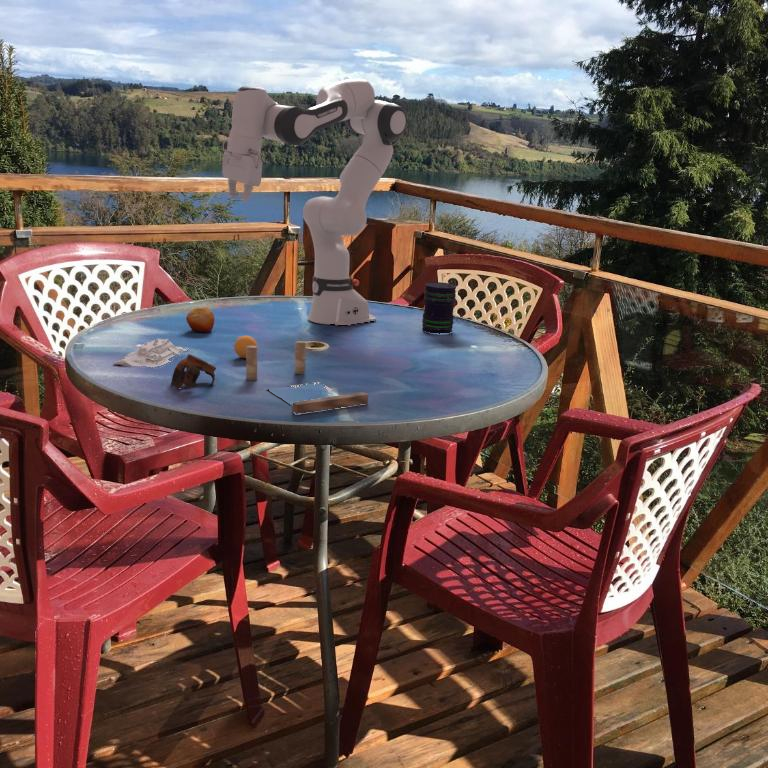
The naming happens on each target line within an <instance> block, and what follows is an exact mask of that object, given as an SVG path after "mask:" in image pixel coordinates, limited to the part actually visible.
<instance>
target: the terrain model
mask: <svg viewBox="0 0 768 768" xmlns="http://www.w3.org/2000/svg"><path fill="white" fill-rule="evenodd" d="M182 347H183V346H175V345H174V344H173V342H171V341H170V339H169V338H159V337H158V338H156V339H153V340H150V341H145V342H144V343H141V345H140V346H139V347H138V348H137V349H136V350H135V352H134V351H131V352H129V353H128V354H127V355H125V356H124V357H123V358H125V359H123V358H122V359H120V360H117V361H114V362H113V365H114V366H116V365H120V366H121V365H124V366H123V367H130V366H136V367H135V368H142V367H141V366H146V367H151V368H150V369H155V368H154V367H157V366H161V365H164V364H166V363H168V362H171V361H169V360H168V359H169V358H171V357H173V356H175V355H178V354H179V356H181V355H180V354H181V353H180V352H179V351H187V350H188V349H187V348H186V349H187V350H186V349H183V348H184V347H183V348H182ZM178 352H179V353H178ZM173 354H174V355H173ZM171 363H172V362H171ZM168 364H169V363H168ZM137 366H138V367H137ZM139 366H140V367H139ZM164 366H165V365H164ZM152 367H153V368H152Z"/></svg>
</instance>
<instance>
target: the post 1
mask: <svg viewBox="0 0 768 768" xmlns="http://www.w3.org/2000/svg"><path fill="white" fill-rule="evenodd" d="M245 359H246V361H245V365H246V367H245V368H246V369H245V371H246V372H245V374H246V375H245V379H247V381H249V380H254V381H256V379H258V345H257V346H247V347H246V358H245Z"/></svg>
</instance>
